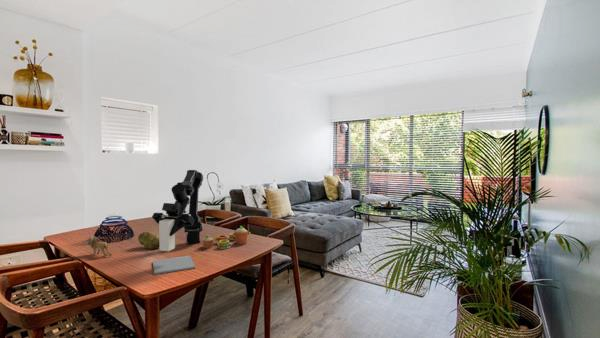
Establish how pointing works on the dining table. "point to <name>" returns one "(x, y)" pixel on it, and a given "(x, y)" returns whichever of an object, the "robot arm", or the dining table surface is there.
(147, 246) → the potato
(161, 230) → the tall block
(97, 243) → the lion figurine
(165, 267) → the rubber mat
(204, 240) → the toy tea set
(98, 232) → the decorative bowl
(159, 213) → the robot arm
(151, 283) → the dining table surface
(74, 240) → the dining table surface
